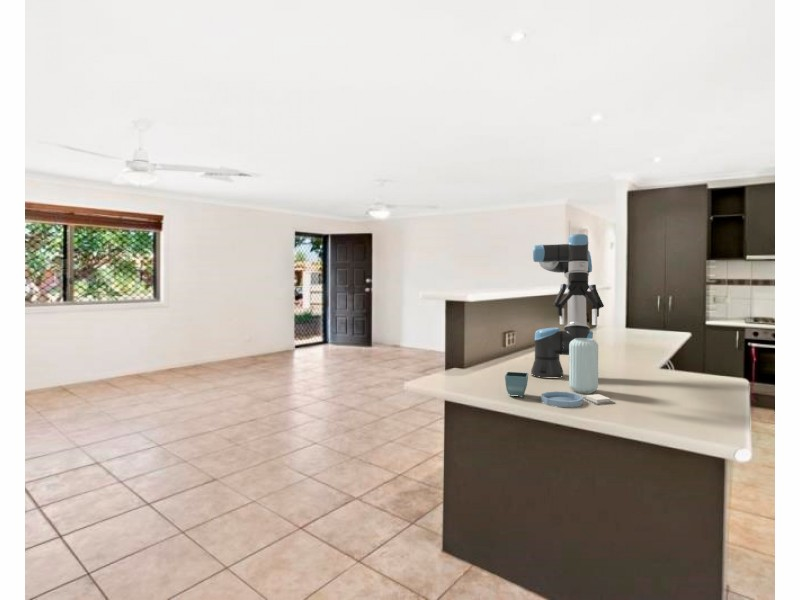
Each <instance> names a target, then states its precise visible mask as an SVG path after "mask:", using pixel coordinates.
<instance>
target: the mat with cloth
mask: <svg viewBox="0 0 800 600" xmlns="http://www.w3.org/2000/svg"><path fill="white" fill-rule="evenodd" d="M582 397H583V396H582ZM583 399H585V400H584V401H586V400H587V401H586V402H588V401H589V403H591V402H592V403H591V404H593V403H594V404H593V405H596V404H597V405H596V406H600V404H604V405H612V403H614V404H616V401H613V400H611V398H610V397H608V396H604V395H602V394H600V393H598V394H585V396H584V397H583ZM610 403H611V404H610Z"/></svg>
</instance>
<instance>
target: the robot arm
mask: <svg viewBox="0 0 800 600" xmlns="http://www.w3.org/2000/svg"><path fill="white" fill-rule="evenodd" d="M532 259H533V262H535V263H539V266H540V267H541V268H542V269H544V270H546V271H549V272H552V273H558V274H559V273H562V274H564V277H565V278H566V279H567V284H566V283H562V284H560V289H559V291H558V293H557V295H556V298H555V299H554V301H553V303H552V307H555V308H556V309H557V317H559V325H564V327H563V328H564V329H563V330H561V329H560V328H559V327H547V328H540V329H537V330H536V331H535V333H534V361H533V363H532V367H531V370H530V375H531V374H533V375H535V376H540V377H561V376H563V377H564V370H563V366H562V364H561V360H560V359H561V358H560V356H561V355H562V356H569V344H570V342H571V341H572V340H574V339H575V338H589V339H593V340H594V337H593V336H594V332H593V331H592V330H591V328H590V326H589V325H588V324H587V302H588V303H589V304H590V305H591V306H592V307H593V308H592V309H591V325H592V326H598V318H599V316H600V309H601V308H604V306H605V305H604V303H603V301H602V299H601V296H600V295H599V292H598V290H597V284H589V277H590V276H589V275H590V273H591V272H593V265H592V264H593V263H592V262H593V261H592V256H591V252H590V251H589V237H588V234H584V233H575V234H571V235H569V237H568V242H567V243H563V244H562V243H561V244H537V245H536V244H535V245H534V246H533V248H532ZM566 290H567V294H566V295H565V296H564V294H565V292H566ZM588 290H589V291H590V292H591V293H590V292H589V291H588ZM591 294H592V295H591ZM563 296H564V297H563ZM566 303H567V324H566V325H565V308H563V307H564V306H565V305H566ZM561 378H562V377H561Z"/></svg>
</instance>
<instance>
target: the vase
mask: <svg viewBox="0 0 800 600" xmlns="http://www.w3.org/2000/svg"><path fill="white" fill-rule="evenodd" d="M568 385H569V387H570V389H571V390H573V392H575V391H576V393H578V392H580V394H592V393H594V392H595V391H597V389H598V388H599V344H598V342H597V341H596V340H594V338H593V339H589V338H575V339H574V340H572V341H571V342H570V344H569V355H568Z"/></svg>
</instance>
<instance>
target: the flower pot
mask: <svg viewBox="0 0 800 600" xmlns="http://www.w3.org/2000/svg"><path fill="white" fill-rule="evenodd" d="M504 380H505V389H506V391H507V394H508V395H509V394H510V395H518V396H523V397H524V395H525V394H526V390H527V388H528V387H527V386H528V380H529V373H528V372H517V371H516V372H515V371H506V373H505V375H504Z"/></svg>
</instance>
